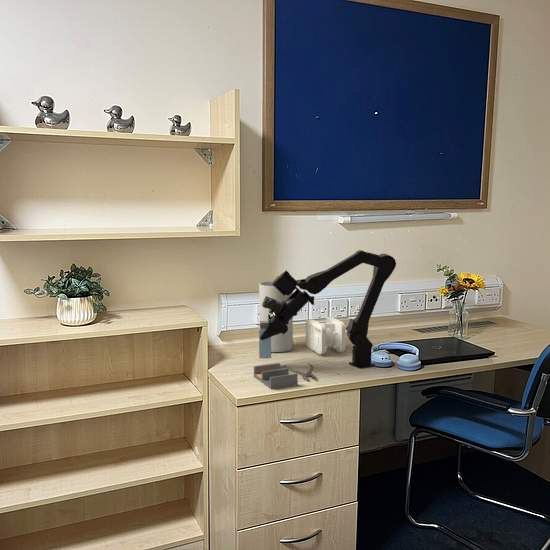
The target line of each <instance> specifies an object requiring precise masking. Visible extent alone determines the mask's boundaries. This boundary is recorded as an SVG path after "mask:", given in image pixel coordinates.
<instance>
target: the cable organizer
mask: <svg viewBox="0 0 550 550" xmlns="http://www.w3.org/2000/svg"><path fill="white" fill-rule="evenodd" d="M305 345H306V346H307V348H308V349H309V350H311V351H314V352H315V353H316V354H317V355H318V356H322V355H324V354H326V352H327V351H328V348H331V349H333V350H335V351H336V352H338V353H342V352H345V350H346V325H345V322H344V321H341V320H339V319H337V318H335V317H332V316H326V317H325V322H322V323H321V322H319V321H317V320H315V319H313V318H308V319H306V321H305Z"/></svg>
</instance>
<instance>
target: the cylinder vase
mask: <svg viewBox="0 0 550 550" xmlns="http://www.w3.org/2000/svg"><path fill="white" fill-rule="evenodd" d="M273 281H274V280H273ZM273 281H271V280H270V281H268V280H267V281H262V282H259V283H258V288H259V289H258V297H259V298H258V300H259V305H258V306H259V309H258V310H259V322H260V321H268V314H269V315H270V316H271V315H272V314H271V313H269V310H270V309H268V308H264V307H263V306H262V303H263V301H264V299H265V297H266V296H267V297H270V298H273V299H274V300H275V299H276V301H278V302H282V301H283V300H285V301H286V300H287V299H288V298H289V297H290V296H291V295H292V294H293V293H294V291H293V292H292V293H291V294H290V295H289V296H288V295H284V296H283V295H282V294H281V293H280V292H279V291H278V290H277V289H276V288H275V287H274V286H273V285H272V283H273ZM293 324H294V317H293V318H292V319H291V320H290V321H289V324H288V331H287V332H286V333H285V334H282V333H280V334H277V335H274V336H272V337H271V352H281V353H287V352H290V351H291V350H292V349H293V348H294V325H293Z"/></svg>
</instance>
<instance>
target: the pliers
mask: <svg viewBox="0 0 550 550" xmlns="http://www.w3.org/2000/svg"><path fill="white" fill-rule="evenodd" d="M306 364H307V365H308V366H309V367H310V368H309V369H308V371H307V372H301V371H300V370H299V371H298V370H295V369H292V368H289V367H287V365H286V364H284V366H283V367H284V368H288V369H289V372H293V373H294V374H295V373H297V374H298V375H300V376H301V377H302V379H303V381H306V382H308V383H309V381H310V380H309V378H311V379H312V380H313V381H316V382H318V378H317V376H316V375H315V374H313V373H312V371H313V369H314V366H313V365H312V364H311V363H309V362H308V363H306Z"/></svg>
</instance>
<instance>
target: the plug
mask: <svg viewBox="0 0 550 550" xmlns="http://www.w3.org/2000/svg"><path fill="white" fill-rule="evenodd" d="M268 326H269V321H260V320H259V326H258V354H259V355H258V356H259V357H258V358H259V359H271V358H272V353H271V337H269V338H267V339H264V340H261V339H260V337H261V336H262V334H263V333H264V331H265V330H266V329H267V327H268Z"/></svg>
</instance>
